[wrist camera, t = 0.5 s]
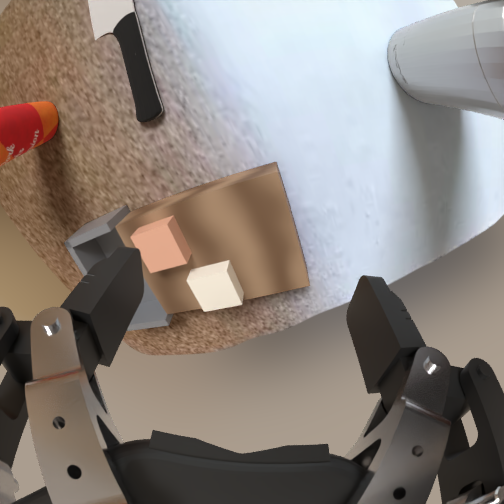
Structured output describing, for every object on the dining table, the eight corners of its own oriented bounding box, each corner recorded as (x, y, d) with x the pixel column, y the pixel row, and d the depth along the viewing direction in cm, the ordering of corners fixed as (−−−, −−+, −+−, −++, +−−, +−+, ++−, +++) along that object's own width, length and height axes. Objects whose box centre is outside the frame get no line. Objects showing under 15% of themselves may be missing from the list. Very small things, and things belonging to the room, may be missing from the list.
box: (126, 204, 30) (106, 223, 26) (178, 299, 37) (168, 325, 33) (84, 224, 32) (63, 242, 28) (135, 308, 39) (123, 331, 35)
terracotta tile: (173, 215, 26) (167, 224, 24) (191, 253, 28) (187, 263, 27) (138, 228, 27) (130, 237, 25) (156, 262, 29) (150, 273, 28)
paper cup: (30, 152, 26) (-44, 191, 14) (27, 100, 22) (-53, 124, 10) (67, 145, 26) (-17, 186, 14) (64, 87, 22) (-25, 104, 10)
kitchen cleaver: (68, -44, 10) (130, -84, 7) (76, -42, 11) (137, -80, 9) (98, 141, 26) (171, 112, 23) (107, 138, 27) (179, 110, 25)
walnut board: (276, 161, 27) (277, 171, 23) (306, 265, 33) (309, 285, 30) (130, 211, 31) (115, 226, 27) (175, 294, 37) (167, 314, 33)
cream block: (229, 260, 28) (226, 271, 27) (243, 292, 31) (242, 304, 29) (191, 269, 29) (186, 280, 28) (207, 300, 32) (204, 311, 30)
